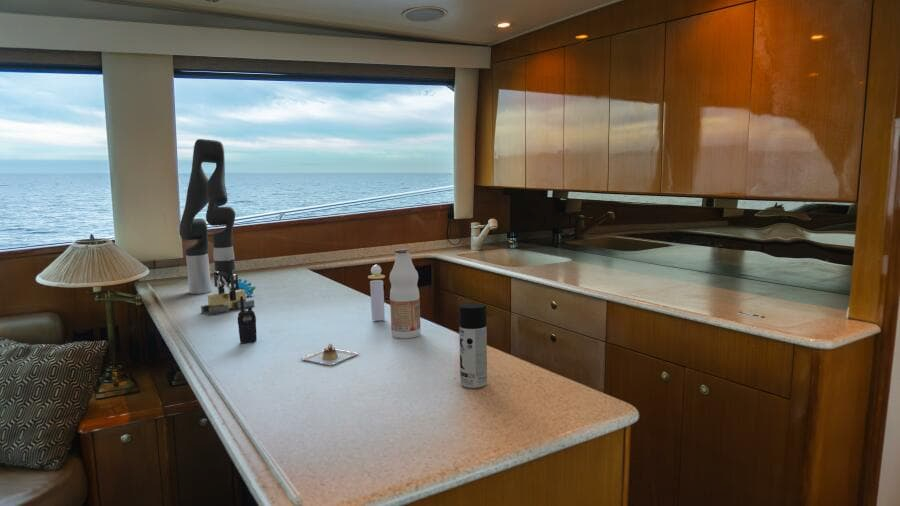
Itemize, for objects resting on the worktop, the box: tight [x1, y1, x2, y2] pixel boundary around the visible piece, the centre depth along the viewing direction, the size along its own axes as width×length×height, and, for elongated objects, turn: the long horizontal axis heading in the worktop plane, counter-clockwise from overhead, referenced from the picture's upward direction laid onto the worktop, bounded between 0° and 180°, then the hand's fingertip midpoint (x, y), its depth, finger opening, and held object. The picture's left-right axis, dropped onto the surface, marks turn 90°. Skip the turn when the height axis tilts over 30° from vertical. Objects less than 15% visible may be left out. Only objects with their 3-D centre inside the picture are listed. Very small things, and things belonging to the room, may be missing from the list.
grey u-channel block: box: [200, 299, 255, 316], centre depth 235 cm, size 8×18×2 cm, turn 139°
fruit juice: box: [389, 247, 422, 340], centre depth 191 cm, size 9×9×28 cm
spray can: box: [458, 302, 488, 390], centre depth 147 cm, size 7×7×20 cm
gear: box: [235, 278, 257, 298], centre depth 259 cm, size 11×6×10 cm
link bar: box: [207, 290, 247, 310], centre depth 235 cm, size 3×14×6 cm, turn 139°
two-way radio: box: [237, 296, 257, 344], centre depth 189 cm, size 6×4×15 cm
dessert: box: [300, 343, 360, 367], centre depth 172 cm, size 12×12×5 cm
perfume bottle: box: [367, 264, 386, 321], centre depth 211 cm, size 6×6×20 cm
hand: (227, 299), depth 235 cm, fingers open, 8 cm apart
